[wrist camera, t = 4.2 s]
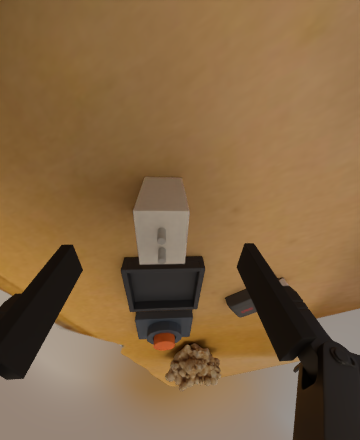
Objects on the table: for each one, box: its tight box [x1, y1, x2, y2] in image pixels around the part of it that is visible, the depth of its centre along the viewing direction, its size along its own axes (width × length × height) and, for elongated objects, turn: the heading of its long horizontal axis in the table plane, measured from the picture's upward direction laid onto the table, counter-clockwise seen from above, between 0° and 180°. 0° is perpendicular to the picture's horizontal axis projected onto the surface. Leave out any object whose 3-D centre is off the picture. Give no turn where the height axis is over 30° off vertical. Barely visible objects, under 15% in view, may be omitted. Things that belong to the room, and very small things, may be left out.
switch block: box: [135, 310, 193, 344], centre depth 36 cm, size 12×9×4 cm
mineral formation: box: [165, 343, 221, 391], centre depth 45 cm, size 8×13×15 cm
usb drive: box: [225, 278, 289, 317], centre depth 33 cm, size 5×12×3 cm, turn 124°
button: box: [154, 333, 175, 350], centre depth 34 cm, size 4×4×2 cm
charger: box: [133, 177, 190, 265], centre depth 17 cm, size 4×6×9 cm
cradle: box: [121, 256, 205, 312], centre depth 29 cm, size 13×12×2 cm
